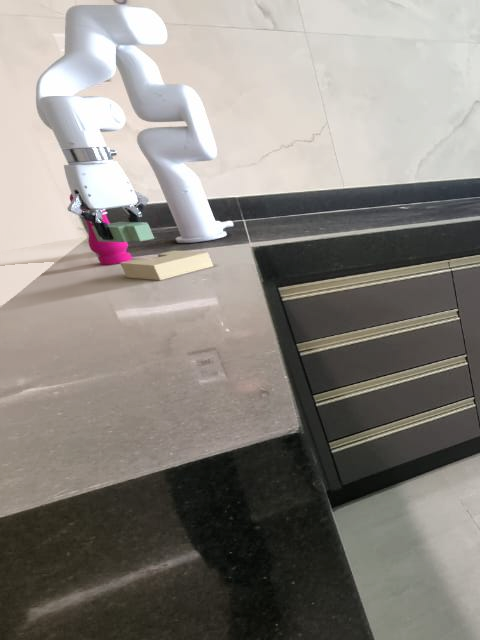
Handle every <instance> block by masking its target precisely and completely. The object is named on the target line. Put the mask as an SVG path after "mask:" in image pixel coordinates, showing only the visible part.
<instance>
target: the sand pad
mask: <svg viewBox="0 0 480 640" xmlns="http://www.w3.org/2000/svg"><path fill="white" fill-rule="evenodd" d="M157 256H158V257H153V258H135V259H132V260H130V261H126V262H122V263H119V264H120V266H121V269H122V271H123V272H124V275H125V277H126V278H128V279H129V278H130V279H131V278H132V279H141V280H142V279H143V280H153V281H164V280H167V279H171V278H174V277H179V276H182V275H186V274H189V273H192V272H197V271H200V270H204V269H208V268H212V267H214V264H213V261H212V259H211V257H210V255H209V252H207V251H193V250H192V251H191V250H178V249H174V250H170V251H165V252H162V253H158V254H157Z"/></svg>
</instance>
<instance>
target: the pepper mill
mask: <svg viewBox="0 0 480 640" xmlns="http://www.w3.org/2000/svg"><path fill="white" fill-rule="evenodd" d="M72 200H73V195H72V193H71V192H70V194H69V201H70V203H71V202H72ZM81 210H83V209H81ZM106 210H107V209H102V220H103V222H106V223H107V224H110V223H111V222H110V221H109V219H108V217H107V214H108V212H107V211H106ZM83 211H85V212H88V210H83ZM84 220H85V222H86V224H87V229H88V240H87V241H88V246H89V249H90V250H91V251H92V252H93V253H95V254H97V255H99V257H97V259H98V261H99V263H100V265H102V266H103V265H104V266H109V265H111V266H112V265H118V264H120V263H122V262H126V261H130V260H133V258H132V256H131V255H132V254H131V253H130V252H127V249H128V247H129V242H105V241H98V239H97V237H96V235H95V233H94V231H93V229H92V226H94V224H93V223H91V222H89V221H88V220H86V219H84Z"/></svg>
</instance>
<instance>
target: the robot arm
mask: <svg viewBox="0 0 480 640" xmlns="http://www.w3.org/2000/svg"><path fill="white" fill-rule="evenodd" d="M167 40H168V31H167V27H166V25H165V22H164V21H163V19H162V18H161V16H159V14H157V13H156V12H155V11H154V10H153V9H150V8H148V7H143V6H130V5H121V4H78V5H73V6H70V7H69V8H68V9H67V10H66V13H65V23H64V53H63V55H62V56H61V57H59V58H58V59H56V60H55V61H54V62H53V63H52V64H51V65H50V66H48V68H47V69H45V70H44V71H43V72H42V73H41V75H40V76H39V77H38V79H37V82H36V89H35V107H36V111H37V114H38V117H39V118H40V120H41V122H42V123H43V124H44V125H45V126H46V127H47V128H49V129H50V130H51V131H52V132H53V134H54V137H55V139H56V141H57V143H58V145H59V147H60V149H61V152H62V154H63V156H64V158H65V161H66V162H67V164H63V169H64V174H65V178H66V181H67V185H68V187H69V190H70V194H71V193H72V195H73V200H72V202H71V201H70V203H69V204H68V206H67V211H68V212H70V213H71V214H74V215H76V216H78V217H80V218H81V219H84V220H85V219H86V220H88V221H89V222H91V223H93V224H94V226H95V229H96V231H97V233H98V235H99V236H100V237H102V239H103V240H113V236H112V234H111V232H110V230H109V227H108V225H107V223H106V222H103V220H102V209H106V210H109V209H116V208H122V210H124V211H125V212H126V213H127V214H128V215H129V216H128V218H127V219H128V222H143V220H142V218H141V217H142V216H143V213H144V211H145V208H146V206H147V204H148V203H149V201H150V199H149V197H148V196H145V195H143V194H141V193H140V192H138V191H136V190H135V189H134V188H133V185H132V184H131V182H130V180H129V178H128V176H127V175H126V173H125V171H124V170H123V168H122V167H121V166H120V164H119V163H118V161H114V158H113V157H116V156H117V151H116V150H115V149H110V148H109V146H107V144H106V141H105V139H104V137H103V135H102V133H110V132H116V131H119V130H121V129H122V128H124V126H125V124H126V115H125V112H124V110H123V109H122V108H121V107H120V105H118V103H117V102H116V101H114V100H111V99H110V98H108V97H104V96H98V95H92V96H91V95H90V96H89V95H88V96H85V95H84V96H78V95H77V96H76V94H78V93H80V92H82V91H83V90H85V89H89V88H91V87H94V86H97V85H99V84H101V83H103V82H106V81H108V80H109V79H111V78H113V77H114V75H115V74H116V71H117V69H118V72H119V75H120V77H121V81H122V83H123V86H124V89H125V91H126V94H127V96H128V99H129V102H130V105H131V107H132V109H133V111H134V113H135V115H136V116H137V117H138V118H139V119H141V120H142V121H144V122H148V123H176V122H185V124H186V125H184V126H183V125H182V126H181V125H180V126H157V127H156V126H155V127H148V128H144V129H142V130H140V131H139V132H138V133H137V136H136V143H137V146H138V148H139V149H140V151H141V153H142V154H143V155H144V157H145V159H146V160H147V162H148V164H149V166H150V167H151V169H152V171H153V173H154V175H155V177H156V180H157V182H158V184H159V186H160V189H161V192H162V193H163V196H164V199H165V200H166V201H165V202H166V203H167V206H168V208H169V211H170V213H171V215H172V218H173V220H174V223H175V225H176V226H177V229H178V232H179V234H180V236H177V237H176V238H175V241H176V243H179V244H193V243H203V242H207V241H213V240H218V239H222V238H224V237H227V235H228V233H227V231H225V229H227V228H232V227H234V222H233V221H232V220H226V221H220V220H216V219H215V217H214V214H213V211H212V208H211V207H210V204H209V201H208V198H207V195H206V193H205V191H204V188H203V186H202V181H201V180H200V178H199V176H198V175H197V174H196V172H194V171H193V170H192V169H191V168H190V167H188V166H187V165H186V164H185V163H197V162H207V161H212V160H215V159H216V158H217V155H218V148H217V145H216V141H215V137H214V134H213V131H212V128H211V125H210V122H209V119H208V116H207V113H206V109H205V107H204V104H203V101H202V100H201V97H200V96H199V95H198V93H197V92H196V91H195V89H193V87H191V86H189V85H187V84H183V83H164V80H163V78H162V75H161V73H160V70H159V67H158V65H157V64H156V62H155V61H154V60H152V58H151V57H150V56H148V55H147V54H146V53H144V51H142V50H141V49H139V48H138V47H137V46H162V45H164V44H165V43H166V42H167ZM116 67H117V68H116ZM81 209H83V210H88V212H85V211H83V210H81ZM86 220H85V221H86Z"/></svg>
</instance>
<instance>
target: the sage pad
mask: <svg viewBox="0 0 480 640" xmlns="http://www.w3.org/2000/svg"><path fill="white" fill-rule="evenodd" d="M107 225H108V227H109V230H110V232H111V234H112V236H113V240H103V239H102V237H100V236H99V235H98V233H97V231H96V229H95V226H92V229H93V231H94V233H95V235H96V237H97V239H98V241H105V242H127V243H129V242H144V241H149V240H154V239H155V237H154V235H153V231H152V230H151V227H150V225H149V223H148V222H145V221H142V222H129V221H117V222H110V224H107Z"/></svg>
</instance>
